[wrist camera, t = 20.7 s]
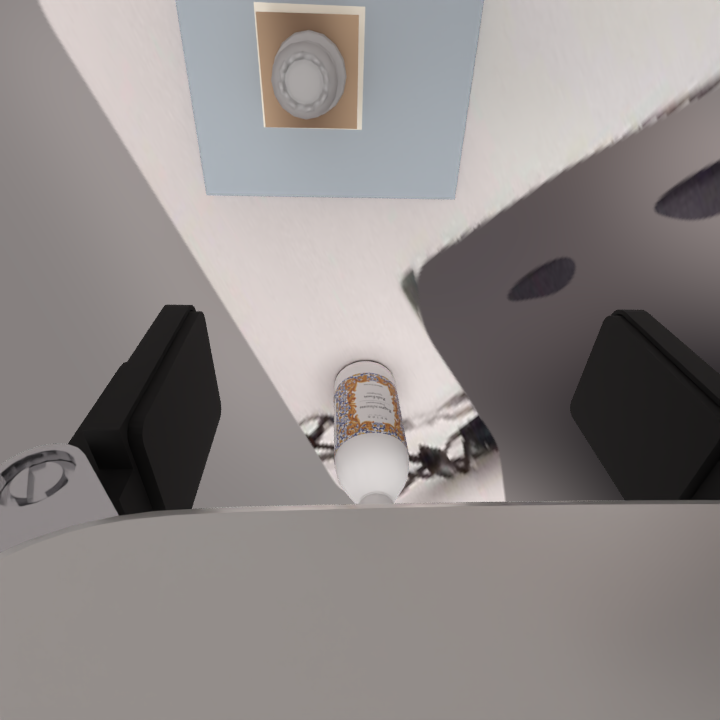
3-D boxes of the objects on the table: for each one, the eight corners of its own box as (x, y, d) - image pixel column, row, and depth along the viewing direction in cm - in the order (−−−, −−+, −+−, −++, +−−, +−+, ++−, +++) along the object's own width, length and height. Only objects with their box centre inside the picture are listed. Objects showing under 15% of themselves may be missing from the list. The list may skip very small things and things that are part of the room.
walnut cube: (354, 20, 31) (358, 15, 26) (353, 117, 35) (356, 128, 30) (267, 17, 31) (255, 11, 26) (274, 115, 34) (265, 127, 29)
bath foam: (401, 363, 50) (435, 518, 33) (386, 410, 54) (410, 569, 37) (340, 354, 49) (344, 510, 32) (329, 402, 53) (328, 563, 36)
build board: (480, -9, 32) (485, -11, 31) (451, 195, 40) (454, 199, 39) (176, -23, 30) (171, -25, 29) (209, 191, 38) (206, 195, 37)
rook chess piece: (258, 72, 28) (236, 80, 21) (308, 10, 26) (301, -3, 19) (311, 131, 30) (306, 155, 23) (361, 76, 28) (370, 85, 21)
